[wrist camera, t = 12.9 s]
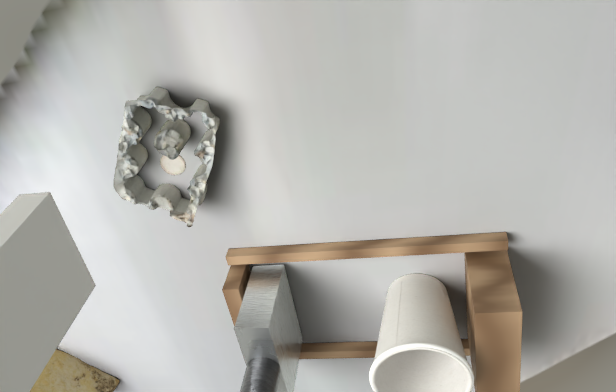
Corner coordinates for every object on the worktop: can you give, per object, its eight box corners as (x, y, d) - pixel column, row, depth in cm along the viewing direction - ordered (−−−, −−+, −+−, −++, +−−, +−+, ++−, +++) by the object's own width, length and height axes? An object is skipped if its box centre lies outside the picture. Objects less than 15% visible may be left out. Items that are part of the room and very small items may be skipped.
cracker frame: (506, 232, 50) (522, 297, 43) (504, 345, 57) (518, 415, 51) (228, 248, 55) (205, 309, 48) (260, 351, 62) (244, 415, 56)
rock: (138, 394, 66) (70, 349, 60) (86, 465, 62) (9, 423, 57) (103, 365, 74) (40, 323, 69) (55, 426, 71) (-14, 387, 66)
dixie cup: (401, 337, 59) (401, 425, 50) (356, 282, 55) (349, 366, 47) (478, 309, 55) (492, 397, 47) (435, 249, 52) (443, 332, 44)
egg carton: (205, 206, 53) (192, 234, 49) (124, 180, 52) (106, 206, 49) (231, 105, 47) (219, 129, 43) (141, 75, 46) (121, 96, 43)
